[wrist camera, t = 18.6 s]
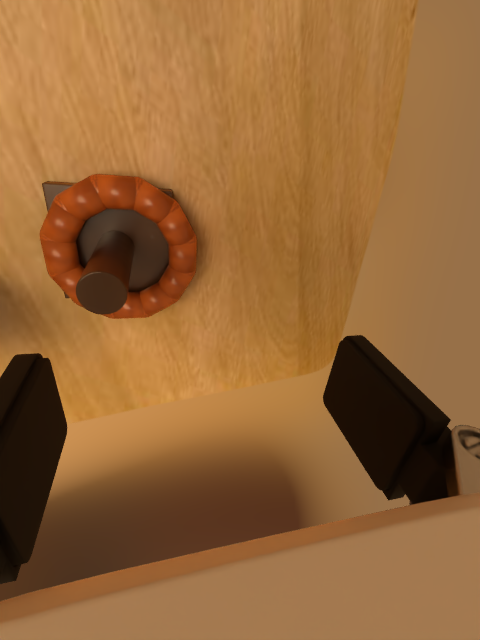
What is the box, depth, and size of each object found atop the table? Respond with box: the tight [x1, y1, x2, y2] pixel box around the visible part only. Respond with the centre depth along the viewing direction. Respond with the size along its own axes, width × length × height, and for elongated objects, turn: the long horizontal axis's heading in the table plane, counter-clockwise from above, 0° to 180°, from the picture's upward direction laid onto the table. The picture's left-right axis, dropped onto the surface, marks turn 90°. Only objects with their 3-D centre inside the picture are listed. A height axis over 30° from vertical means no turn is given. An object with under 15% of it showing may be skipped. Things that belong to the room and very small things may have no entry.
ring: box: [40, 174, 197, 319], centre depth 21 cm, size 10×10×2 cm
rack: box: [42, 181, 173, 315], centre depth 19 cm, size 8×8×9 cm
